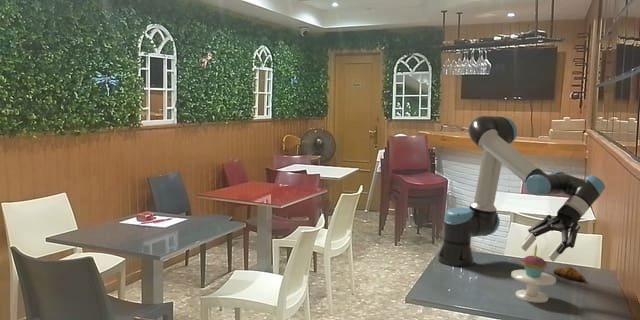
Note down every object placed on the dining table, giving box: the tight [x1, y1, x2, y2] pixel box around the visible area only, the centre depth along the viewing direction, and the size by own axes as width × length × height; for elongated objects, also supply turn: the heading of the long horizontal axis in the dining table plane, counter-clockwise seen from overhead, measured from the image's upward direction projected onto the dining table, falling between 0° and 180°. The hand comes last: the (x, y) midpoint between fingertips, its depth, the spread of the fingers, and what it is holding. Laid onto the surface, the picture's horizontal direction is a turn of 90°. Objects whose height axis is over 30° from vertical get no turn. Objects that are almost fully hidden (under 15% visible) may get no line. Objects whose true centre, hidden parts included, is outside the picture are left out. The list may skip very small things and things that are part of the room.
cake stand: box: [511, 269, 557, 304], centre depth 197 cm, size 15×15×8 cm
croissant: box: [553, 266, 586, 283], centre depth 224 cm, size 14×7×5 cm, turn 33°
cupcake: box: [520, 243, 547, 278], centre depth 196 cm, size 9×8×12 cm
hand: (536, 253), depth 195 cm, fingers open, 13 cm apart
